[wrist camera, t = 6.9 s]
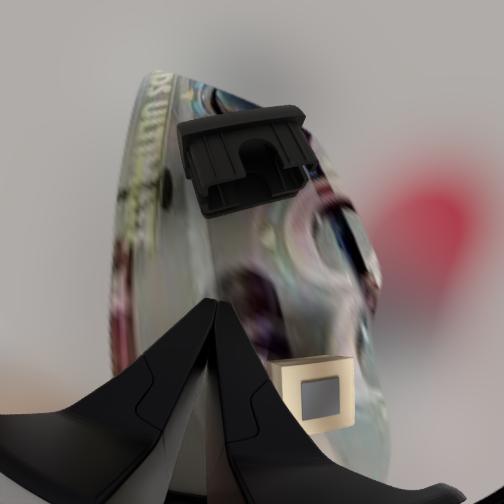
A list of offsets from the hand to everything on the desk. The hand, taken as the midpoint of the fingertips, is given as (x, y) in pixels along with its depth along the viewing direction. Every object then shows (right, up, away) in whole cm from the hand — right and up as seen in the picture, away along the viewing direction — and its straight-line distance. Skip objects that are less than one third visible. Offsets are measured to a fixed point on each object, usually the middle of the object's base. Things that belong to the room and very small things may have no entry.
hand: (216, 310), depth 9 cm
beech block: (+5, -9, +12) cm, 16 cm away
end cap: (0, +9, +17) cm, 19 cm away
